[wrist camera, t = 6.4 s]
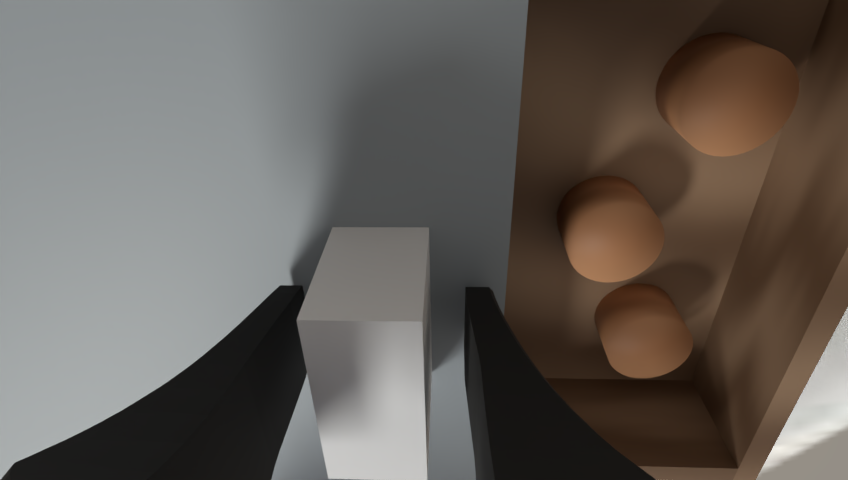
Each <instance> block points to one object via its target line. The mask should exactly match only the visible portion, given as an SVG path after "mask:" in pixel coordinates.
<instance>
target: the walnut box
mask: <svg viewBox="0 0 848 480" xmlns="http://www.w3.org/2000/svg"><path fill="white" fill-rule="evenodd" d="M847 307H848V0H528V12H527V25H526V38H525V51H524V64H523V77H522V90H521V102H520V115H519V128H518V141H517V154H516V167H515V180H514V193H513V205H512V218H511V231H510V244H509V257H508V270H507V283H506V296H505V308H504V317H505V319H506V321H507V323H508V324H509V326H510V328H511V330H512V331H513V333H514V335H515V336H516V338H517V339H518V341H519V343H520V344H521V346H522V347H523V349H524V350H525V352H526V353H527V355H528V356H529V358H530V359H531V360H532V362H533V363H534V365H535V366H536V367H537V369H538V370H539V371H540V373H541V374H542V375H543V376H544V378H545V379H546V380H547V381H548V383H549V384H550V385H551V386H552V387H553V389H554V390H555V391H556V392H557V393H558V394H559V395H560V397H561V398H562V399H563V400H564V401H565V402H566V403H567V404H568V405H569V406H570V407H571V409H572V410H573V411H574V412H576V413H577V414H578V415H579V416H580V417H581V418H582V419H583V420H584V421H585V422H586V423H587V424H588V425H589V426H590V427H591V428H592V429H593V430H594V431H595V432H596V433H597V434H598V435H600V436H601V437H602V438H603V439H604V440H605V441H606V442H608V443H609V444H610V445H611V446H612V447H613V448H615V449H616V450H617V451H618V452H620V453H621V454H622V455H624V456H625V457H626V458H628V459H629V460H630V461H632V462H633V463H634V464H636V465H637V466H638V467H640V468H641V469H642V470H644V471H645V472H646V473H648V474H649V475H651V476H652V477H653V478H655V479H656V480H756V478H757V476H758V474H759V472H760V470H761V469H762V467H763V465H764V463H765V461H766V459H767V457H768V455H769V453H770V452H771V450H772V448H773V446H774V444H775V442H776V440H777V438H778V437H779V435H780V433H781V431H782V429H783V427H784V425H785V423H786V421H787V420H788V418H789V416H790V414H791V412H792V410H793V408H794V406H795V405H796V403H797V401H798V399H799V397H800V395H801V393H802V391H803V389H804V388H805V386H806V384H807V382H808V380H809V378H810V376H811V374H812V373H813V371H814V369H815V367H816V365H817V363H818V361H819V359H820V357H821V356H822V354H823V352H824V350H825V348H826V346H827V344H828V342H829V341H830V339H831V337H832V335H833V333H834V331H835V329H836V327H837V325H838V324H839V322H840V320H841V318H842V316H843V314H844V312H845V310H846V309H847Z"/></svg>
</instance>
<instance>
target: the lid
mask: <svg viewBox="0 0 848 480" xmlns="http://www.w3.org/2000/svg"><path fill="white" fill-rule="evenodd" d="M527 12H528V0H0V480H1V479H2V477H3V476H4V475H5V474H6V472H7V471H8V470H9V469H10V468H11V466H12V465H13V464H14V463H15V462H17V461H19V460H22V459H24V458H27V457H29V456H31V455H33V454H35V453H38V452H40V451H42V450H44V449H46V448H49V447H51V446H53V445H55V444H57V443H60V442H62V441H64V440H66V439H68V438H70V437H72V436H74V435H77V434H79V433H81V432H83V431H84V430H86V429H88V428H90V427H92V426H94V425H96V424H98V423H100V422H102V421H104V420H105V419H107V418H109V417H111V416H113V415H114V414H116V413H118V412H120V411H122V410H123V409H125V408H127V407H128V406H130V405H132V404H133V403H135V402H136V401H138V400H140V399H141V398H143V397H144V396H146V395H148V394H149V393H151V392H153V391H154V390H156V389H157V388H159V387H161V386H162V385H163V384H165V383H166V382H168V381H169V380H171V379H172V378H174V377H175V376H176V375H178V374H179V373H181V372H182V371H183V370H185V369H186V368H187V367H189V366H190V365H191V364H193V363H194V362H195V361H197V360H198V359H199V358H200V357H202V356H203V355H204V354H205V353H206V352H208V351H209V350H210V349H211V348H212V347H214V346H215V345H216V344H217V343H218V342H219V341H221V340H222V339H223V338H224V337H225V336H227V335H228V334H229V333H230V332H231V331H232V330H233V329H234V328H235V327H236V326H238V325H239V324H240V323H241V322H242V321H243V320H244V319H245V318H246V317H247V316H248V315H249V314H250V313H251V312H252V311H253V310H255V309H256V308H257V307H258V306H259V305H260V304H261V303H262V302H263V301H264V300H265V299H266V298H267V297H268V296H269V295H270V294H271V293H272V292H273V291H274V290H275V289H277V288H278V287H279V286H280V285H302V286H303V291H304V296H305V299H304V302H303V304H302V307H301V310H300V312H299V315H298V317H297V320H296V321H297V326H298V331H299V336H300V340H301V345H302V350H303V355H304V360H305V365H306V370H307V374H306V378H305V381H304V384H303V387H302V390H301V393H300V396H299V398H298V401H297V404H296V407H295V410H294V412H293V415H292V418H291V421H290V424H289V426H288V429H287V432H286V435H285V438H284V440H283V443H282V446H281V449H280V451H279V455H278V458H277V461H276V464H275V467H274V471H273V475H272V479H271V480H476V471H475V459H474V451H473V443H472V435H471V427H470V419H469V411H468V403H467V395H466V387H465V376H464V322H465V287H489V288H490V289H491V290H493V293H494V296H495V298H496V301H497V303H498V305H499V307H500V309H501V311H502V313H503V315H504V308H505V296H506V283H507V270H508V257H509V244H510V231H511V218H512V205H513V193H514V180H515V167H516V154H517V141H518V128H519V115H520V102H521V90H522V77H523V64H524V51H525V38H526V25H527Z"/></svg>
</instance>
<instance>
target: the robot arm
mask: <svg viewBox="0 0 848 480" xmlns="http://www.w3.org/2000/svg"><path fill="white" fill-rule="evenodd" d="M304 299H305V296H304V291H303V286H302V285H280V286H279V287H278V288H277V289H275V290H274V291H273V292H272V293H271V294H270V295H269V296H268V297H267V298H266V299H265V300H264V301H263V302H262V303H261V304H260V305H259V306H258V307H257V308H256V309H255V310H253V311H252V312H251V313H250V314H249V315H248V316H247V317H246V318H245V319H244V320H243V321H242V322H241V323H240V324H239V325H238V326H236V327H235V328H234V329H233V330H232V331H231V332H230V333H229V334H228V335H227V336H225V337H224V338H223V339H222V340H221V341H219V342H218V343H217V344H216V345H215V346H214V347H212V348H211V349H210V350H209V351H208V352H206V353H205V354H204V355H203V356H202V357H200V358H199V359H198V360H197V361H195V362H194V363H193V364H191V365H190V366H189V367H187V368H186V369H185V370H183V371H182V372H181V373H179V374H178V375H176V376H175V377H174V378H172V379H171V380H169V381H168V382H166V383H165V384H163V385H162V386H161V387H159V388H157V389H156V390H154V391H153V392H151V393H149V394H148V395H146V396H144V397H143V398H141V399H140V400H138V401H136V402H135V403H133V404H132V405H130V406H128V407H127V408H125V409H123V410H122V411H120V412H118V413H116V414H114V415H113V416H111V417H109V418H107V419H105V420H104V421H102V422H100V423H98V424H96V425H94V426H92V427H90V428H88V429H86V430H84V431H83V432H81V433H79V434H77V435H74V436H72V437H70V438H68V439H66V440H64V441H62V442H60V443H57V444H55V445H53V446H51V447H49V448H46V449H44V450H42V451H40V452H38V453H35V454H33V455H31V456H29V457H27V458H24V459H22V460H19V461H17V462H15V463H14V464H13V465H12V466H11V468H10V469H9V470H8V471H7V472H6V474H5V475H4V476H3V477H2V479H1V480H271V479H272V475H273V471H274V467H275V464H276V461H277V458H278V455H279V451H280V449H281V446H282V443H283V440H284V438H285V435H286V432H287V429H288V426H289V424H290V421H291V418H292V415H293V412H294V410H295V407H296V404H297V401H298V398H299V396H300V393H301V390H302V387H303V384H304V381H305V378H306V374H307V370H306V365H305V360H304V355H303V350H302V345H301V340H300V336H299V331H298V326H297V321H296V320H297V317H298V315H299V312H300V310H301V307H302V304H303V302H304ZM464 376H465V387H466V395H467V403H468V411H469V419H470V427H471V435H472V443H473V451H474V459H475V471H476V480H656V479H655V478H653V477H652V476H651V475H649V474H648V473H646V472H645V471H644V470H642V469H641V468H640V467H638V466H637V465H636V464H634V463H633V462H632V461H630V460H629V459H628V458H626V457H625V456H624V455H622V454H621V453H620V452H618V451H617V450H616V449H615V448H613V447H612V446H611V445H610V444H609V443H608V442H606V441H605V440H604V439H603V438H602V437H601V436H600V435H598V434H597V433H596V432H595V431H594V430H593V429H592V428H591V427H590V426H589V425H588V424H587V423H586V422H585V421H584V420H583V419H582V418H581V417H580V416H579V415H578V414H577V413H576V412H574V411H573V410H572V409H571V407H570V406H569V405H568V404H567V403H566V402H565V401H564V400H563V399H562V398H561V397H560V395H559V394H558V393H557V392H556V391H555V390H554V389H553V387H552V386H551V385H550V384H549V383H548V381H547V380H546V379H545V378H544V376H543V375H542V374H541V373H540V371H539V370H538V369H537V367H536V366H535V365H534V363H533V362H532V360H531V359H530V358H529V356H528V355H527V353H526V352H525V350H524V349H523V347H522V346H521V344H520V343H519V341H518V339H517V338H516V336H515V335H514V333H513V331H512V330H511V328H510V326H509V324H508V323H507V321H506V319H505V317H504V315H503V313H502V311H501V309H500V307H499V305H498V303H497V301H496V298H495V296H494V293H493V290H491V289H490V288H489V287H465V322H464Z"/></svg>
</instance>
